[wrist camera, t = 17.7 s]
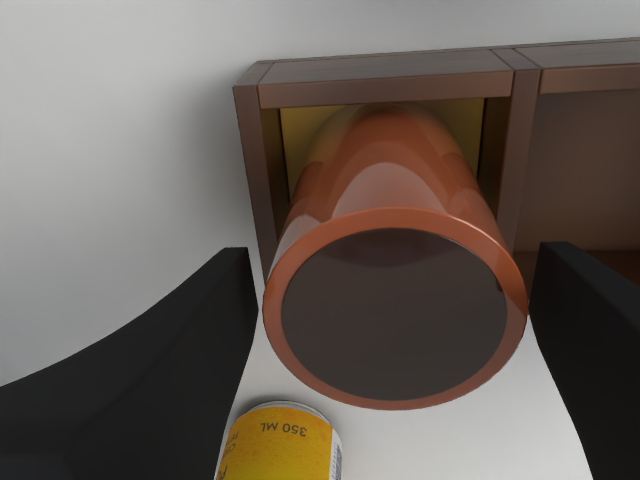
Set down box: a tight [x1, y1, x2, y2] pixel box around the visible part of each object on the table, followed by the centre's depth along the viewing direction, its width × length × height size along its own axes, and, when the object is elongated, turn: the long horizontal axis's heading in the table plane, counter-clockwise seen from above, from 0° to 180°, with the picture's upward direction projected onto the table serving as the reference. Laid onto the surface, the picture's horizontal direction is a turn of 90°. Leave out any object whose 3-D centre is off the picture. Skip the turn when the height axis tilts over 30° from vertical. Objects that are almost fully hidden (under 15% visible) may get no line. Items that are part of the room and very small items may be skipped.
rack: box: [232, 37, 640, 315], centre depth 16 cm, size 16×8×4 cm, turn 94°
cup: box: [262, 101, 528, 411], centre depth 14 cm, size 6×6×8 cm
